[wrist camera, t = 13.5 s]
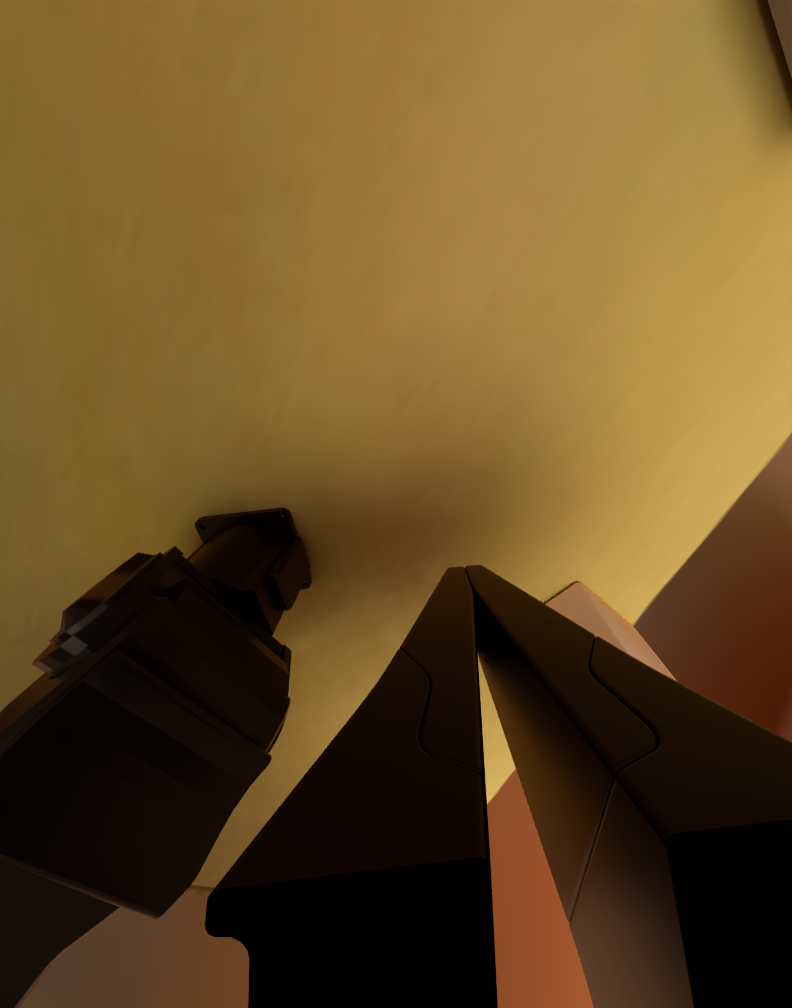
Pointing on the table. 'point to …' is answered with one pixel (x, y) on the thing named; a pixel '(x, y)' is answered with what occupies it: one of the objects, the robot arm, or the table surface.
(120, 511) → the table surface
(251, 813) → the table surface
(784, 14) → the tile
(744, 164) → the table surface
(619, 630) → the medicine bottle
